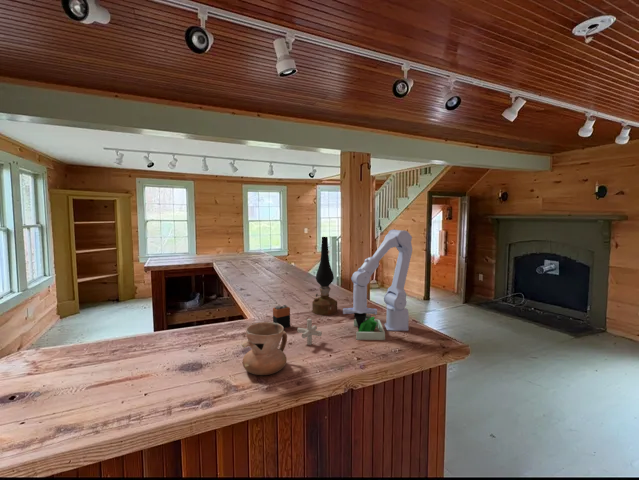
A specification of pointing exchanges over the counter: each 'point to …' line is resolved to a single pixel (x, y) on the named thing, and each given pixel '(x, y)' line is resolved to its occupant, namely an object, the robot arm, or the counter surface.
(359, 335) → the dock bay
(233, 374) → the counter surface
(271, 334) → the ceramic jug
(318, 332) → the pipe connector
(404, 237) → the robot arm
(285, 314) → the battery
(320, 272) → the oil lamp
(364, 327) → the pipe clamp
